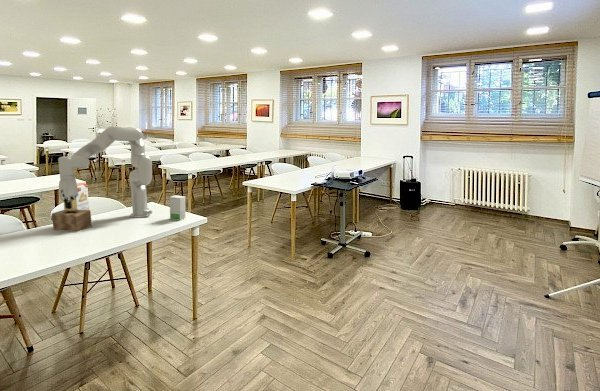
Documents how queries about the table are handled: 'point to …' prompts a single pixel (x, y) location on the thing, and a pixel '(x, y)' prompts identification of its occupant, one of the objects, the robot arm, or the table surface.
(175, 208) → the skincare box
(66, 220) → the coin box
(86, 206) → the cracker box
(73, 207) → the token
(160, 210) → the table surface
